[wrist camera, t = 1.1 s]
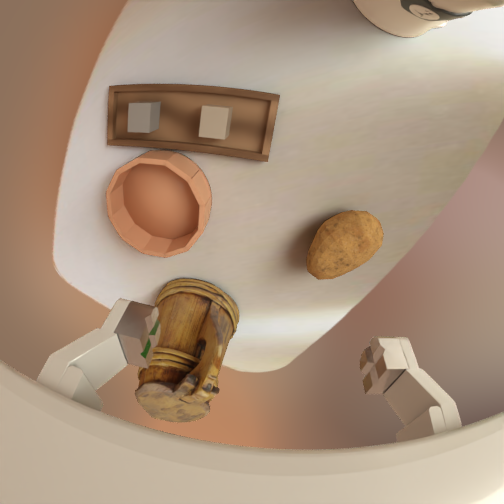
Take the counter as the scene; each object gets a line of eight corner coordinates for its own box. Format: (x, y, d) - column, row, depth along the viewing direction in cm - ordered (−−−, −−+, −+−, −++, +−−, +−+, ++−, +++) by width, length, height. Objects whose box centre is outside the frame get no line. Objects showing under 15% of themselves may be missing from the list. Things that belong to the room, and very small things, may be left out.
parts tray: (115, 85, 34) (109, 86, 32) (279, 95, 34) (279, 95, 33) (112, 142, 39) (107, 145, 38) (267, 158, 40) (267, 161, 38)
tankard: (147, 311, 61) (109, 402, 40) (190, 243, 49) (140, 357, 29) (213, 346, 66) (193, 438, 45) (271, 291, 54) (265, 409, 33)
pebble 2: (208, 104, 35) (202, 105, 32) (232, 106, 35) (228, 108, 32) (204, 132, 38) (198, 136, 35) (228, 135, 38) (224, 139, 35)
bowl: (121, 146, 40) (103, 155, 35) (216, 155, 40) (208, 165, 35) (125, 231, 49) (112, 247, 44) (208, 246, 49) (201, 264, 45)
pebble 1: (139, 101, 35) (128, 103, 32) (160, 101, 35) (151, 103, 32) (138, 127, 37) (127, 131, 34) (158, 128, 37) (149, 132, 34)
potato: (289, 238, 47) (290, 266, 41) (353, 186, 41) (367, 207, 34) (323, 271, 50) (329, 301, 44) (384, 226, 44) (400, 251, 38)
